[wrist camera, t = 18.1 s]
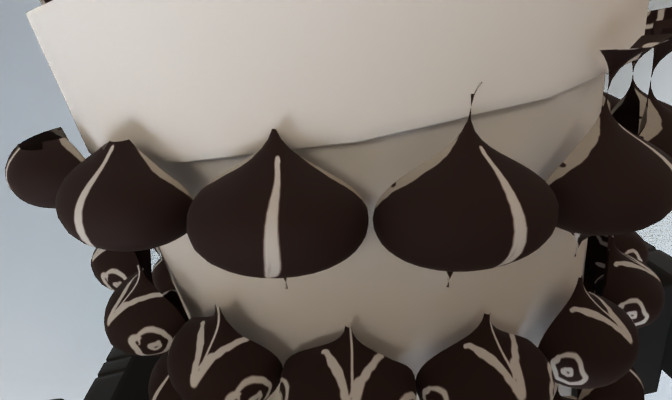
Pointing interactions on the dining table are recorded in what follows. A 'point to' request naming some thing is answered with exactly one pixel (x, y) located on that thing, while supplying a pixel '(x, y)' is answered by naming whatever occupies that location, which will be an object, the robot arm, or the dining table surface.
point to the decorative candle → (362, 192)
